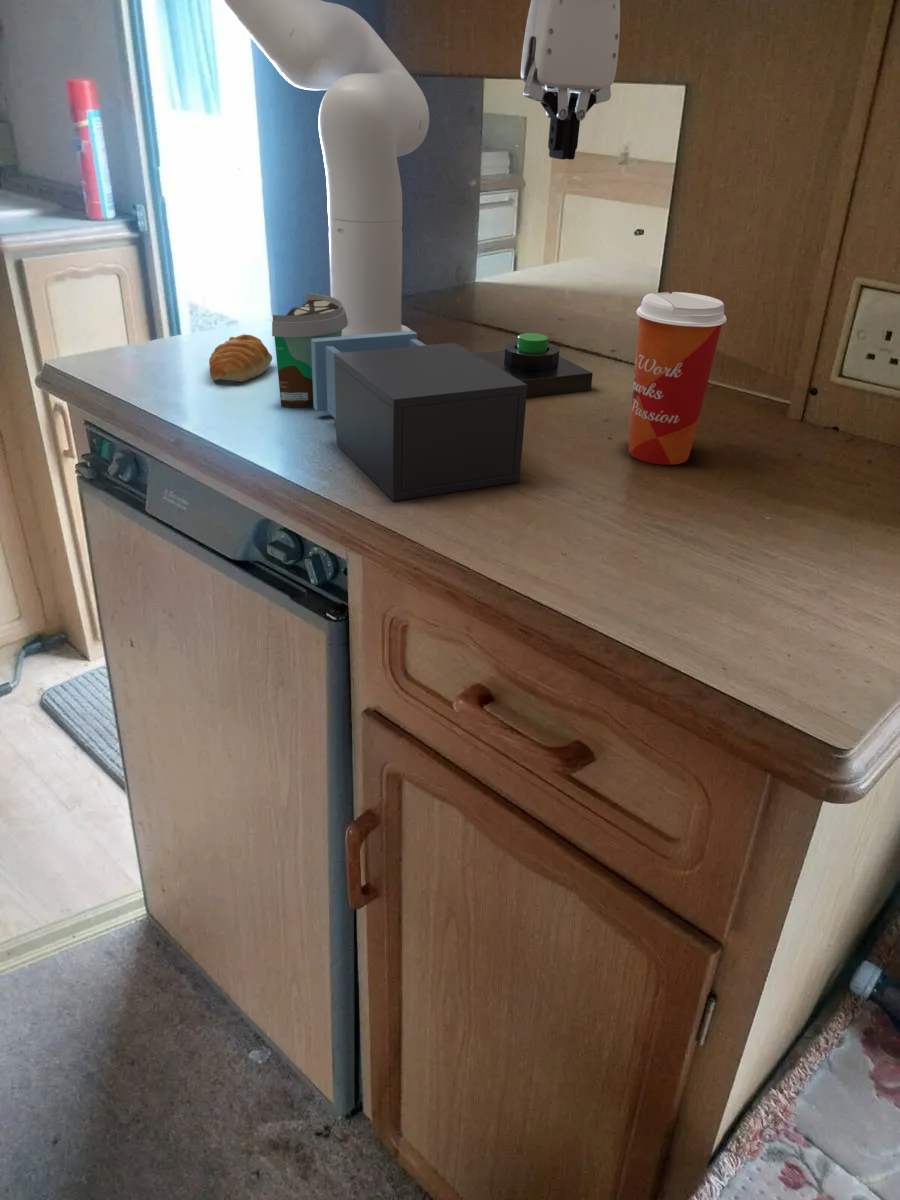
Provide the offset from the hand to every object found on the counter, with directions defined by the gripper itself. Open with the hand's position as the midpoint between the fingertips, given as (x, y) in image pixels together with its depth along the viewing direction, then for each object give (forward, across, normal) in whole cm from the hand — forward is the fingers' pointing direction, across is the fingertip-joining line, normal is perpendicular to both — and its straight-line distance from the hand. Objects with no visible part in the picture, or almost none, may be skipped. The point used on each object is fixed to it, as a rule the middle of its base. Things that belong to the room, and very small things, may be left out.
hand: (561, 157), depth 106 cm
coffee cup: (+24, +4, +32) cm, 40 cm away
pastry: (+25, +37, -8) cm, 45 cm away
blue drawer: (+23, +28, +14) cm, 39 cm away
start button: (+21, +5, +6) cm, 22 cm away
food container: (+24, +31, +4) cm, 40 cm away
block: (+24, +5, +6) cm, 25 cm away
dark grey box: (+24, +28, +26) cm, 45 cm away
